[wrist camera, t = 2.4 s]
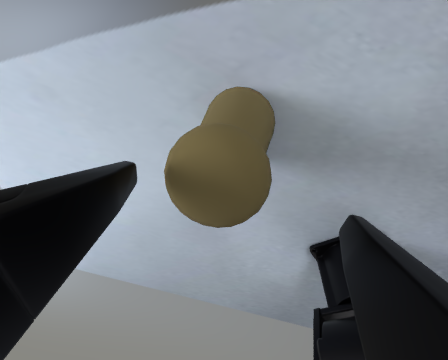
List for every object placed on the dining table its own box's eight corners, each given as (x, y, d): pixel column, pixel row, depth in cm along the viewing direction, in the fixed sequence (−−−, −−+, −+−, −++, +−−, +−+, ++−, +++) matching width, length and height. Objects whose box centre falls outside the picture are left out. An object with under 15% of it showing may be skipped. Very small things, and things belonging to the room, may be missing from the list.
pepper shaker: (283, 144, 18) (299, 236, 9) (221, 163, 21) (183, 254, 11) (262, 73, 16) (253, 100, 7) (194, 103, 18) (116, 156, 9)
